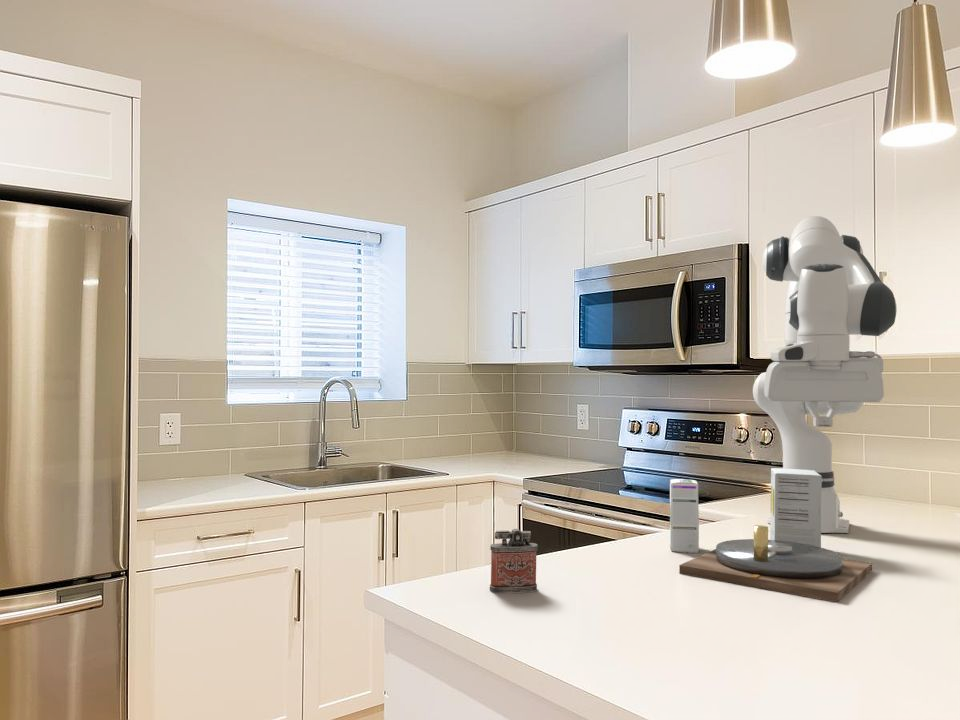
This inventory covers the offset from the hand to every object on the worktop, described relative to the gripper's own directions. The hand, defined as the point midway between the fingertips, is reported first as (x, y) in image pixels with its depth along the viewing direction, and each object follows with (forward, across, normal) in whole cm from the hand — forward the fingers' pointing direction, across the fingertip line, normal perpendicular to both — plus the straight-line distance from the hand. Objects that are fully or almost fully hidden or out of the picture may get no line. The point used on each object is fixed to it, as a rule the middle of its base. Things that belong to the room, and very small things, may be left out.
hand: (822, 426), depth 139 cm
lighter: (+26, +55, +21) cm, 65 cm away
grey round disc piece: (+26, +8, -1) cm, 27 cm away
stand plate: (+28, +8, -1) cm, 29 cm away
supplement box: (+29, -1, -22) cm, 36 cm away
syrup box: (+28, +23, -17) cm, 40 cm away
